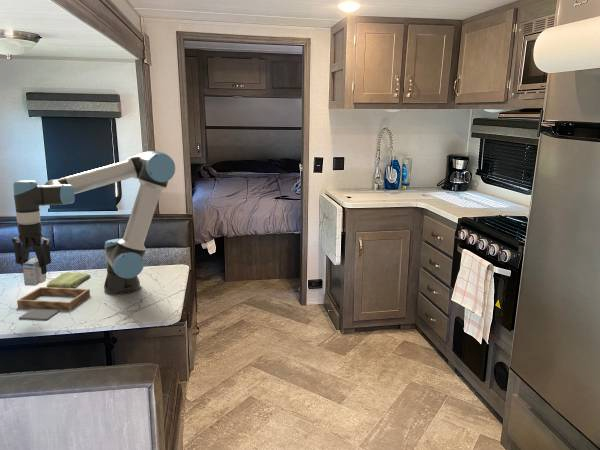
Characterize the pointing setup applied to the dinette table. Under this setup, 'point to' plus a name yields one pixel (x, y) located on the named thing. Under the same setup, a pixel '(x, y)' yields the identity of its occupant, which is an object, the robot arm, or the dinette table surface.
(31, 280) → the medicine box
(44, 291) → the wooden frame
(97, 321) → the dinette table surface
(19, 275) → the dinette table surface
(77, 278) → the washcloth
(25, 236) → the robot arm
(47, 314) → the mat
